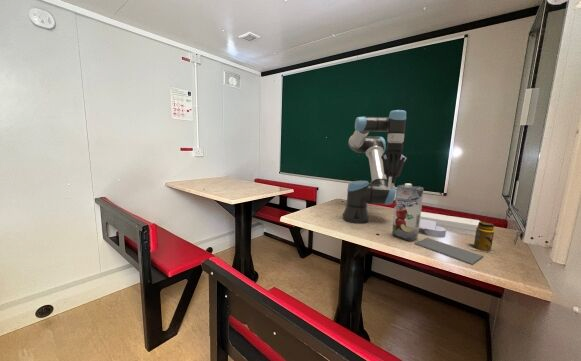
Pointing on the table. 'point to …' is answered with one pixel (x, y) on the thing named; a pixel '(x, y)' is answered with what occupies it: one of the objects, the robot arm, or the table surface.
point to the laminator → (453, 223)
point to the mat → (450, 251)
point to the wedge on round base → (432, 228)
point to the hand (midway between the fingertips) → (390, 189)
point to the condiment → (483, 237)
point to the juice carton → (407, 211)
